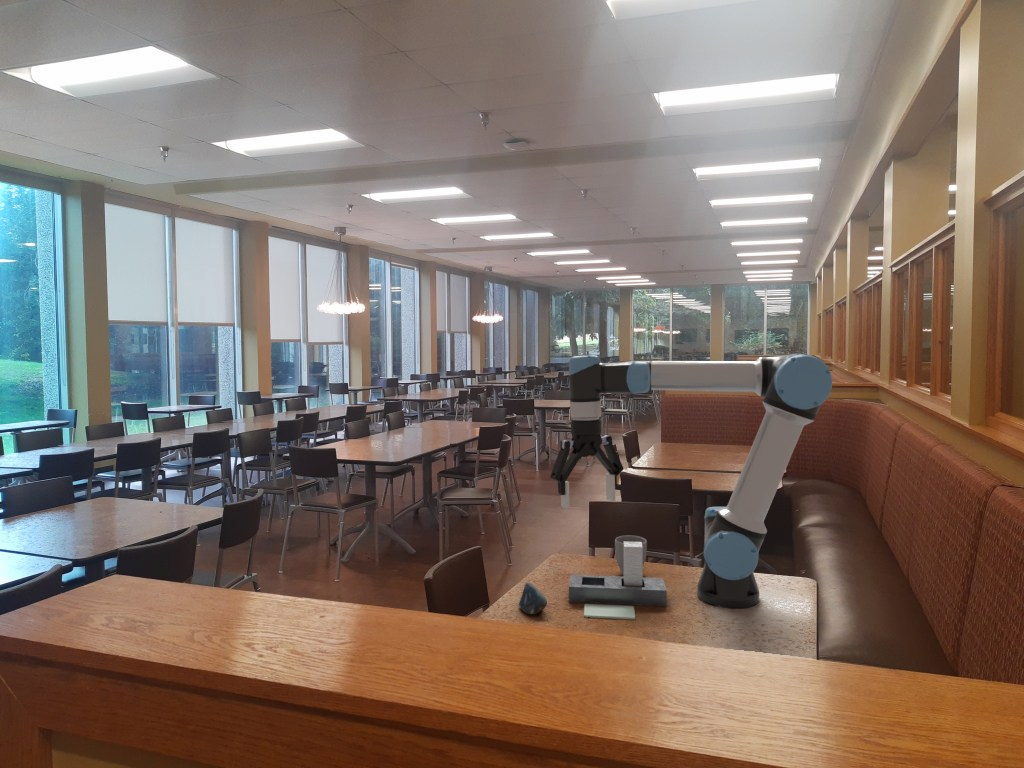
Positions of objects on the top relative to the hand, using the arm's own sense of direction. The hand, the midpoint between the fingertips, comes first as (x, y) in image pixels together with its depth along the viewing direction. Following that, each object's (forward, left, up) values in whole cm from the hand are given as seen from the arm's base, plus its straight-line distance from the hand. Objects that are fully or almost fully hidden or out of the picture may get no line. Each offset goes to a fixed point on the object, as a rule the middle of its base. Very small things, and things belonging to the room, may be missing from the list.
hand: (588, 503), depth 169 cm
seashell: (+13, +5, -26) cm, 29 cm away
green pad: (-5, +5, -25) cm, 26 cm away
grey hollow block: (-7, -5, -25) cm, 27 cm away
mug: (-11, -22, -25) cm, 36 cm away
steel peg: (-11, -5, -25) cm, 28 cm away
